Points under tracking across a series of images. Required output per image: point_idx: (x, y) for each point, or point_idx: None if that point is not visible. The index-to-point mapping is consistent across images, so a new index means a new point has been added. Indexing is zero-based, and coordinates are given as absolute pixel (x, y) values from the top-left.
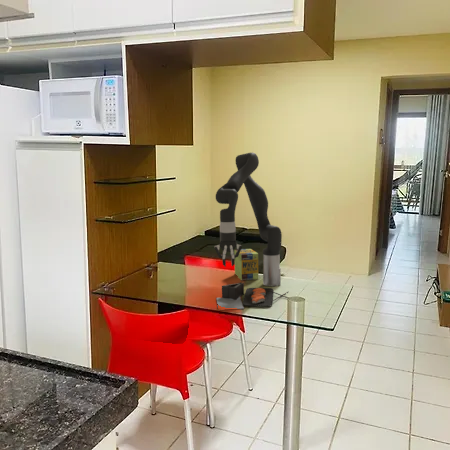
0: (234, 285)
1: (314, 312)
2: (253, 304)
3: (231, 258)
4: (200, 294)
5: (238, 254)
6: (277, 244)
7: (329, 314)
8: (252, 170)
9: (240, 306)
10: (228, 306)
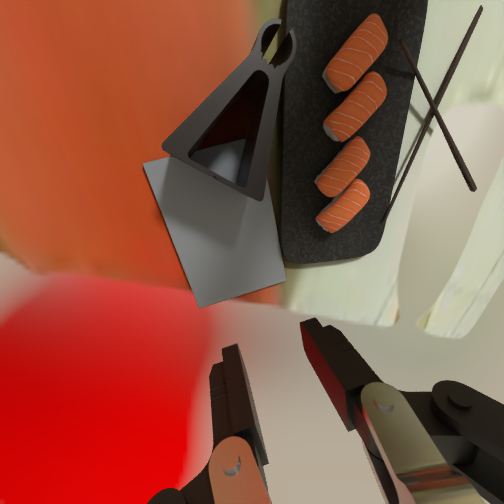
0: (237, 92)
1: (470, 264)
2: (318, 232)
3: (346, 411)
4: (3, 78)
5: (494, 466)
6: None
7: (496, 271)
8: None
9: (273, 265)
10: (230, 273)
